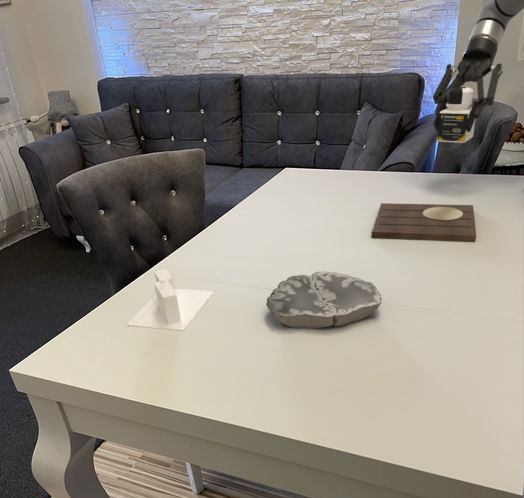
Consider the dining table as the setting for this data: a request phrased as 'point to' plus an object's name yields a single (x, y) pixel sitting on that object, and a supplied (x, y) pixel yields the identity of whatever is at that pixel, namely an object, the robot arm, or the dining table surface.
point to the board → (425, 222)
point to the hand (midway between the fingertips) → (451, 127)
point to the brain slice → (323, 300)
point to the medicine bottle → (456, 116)
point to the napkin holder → (170, 305)
